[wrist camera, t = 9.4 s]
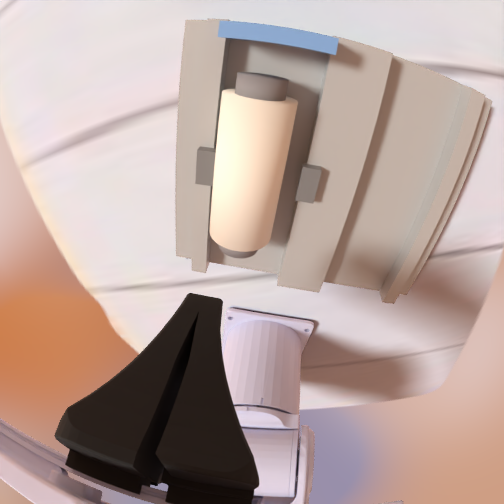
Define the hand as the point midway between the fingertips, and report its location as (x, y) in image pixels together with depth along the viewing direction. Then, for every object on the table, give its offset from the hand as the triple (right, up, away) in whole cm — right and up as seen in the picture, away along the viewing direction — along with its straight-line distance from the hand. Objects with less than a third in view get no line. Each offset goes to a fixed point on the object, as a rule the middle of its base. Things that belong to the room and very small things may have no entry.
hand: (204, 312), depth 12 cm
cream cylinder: (+2, +8, +5) cm, 9 cm away
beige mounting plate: (+6, +8, +6) cm, 12 cm away
